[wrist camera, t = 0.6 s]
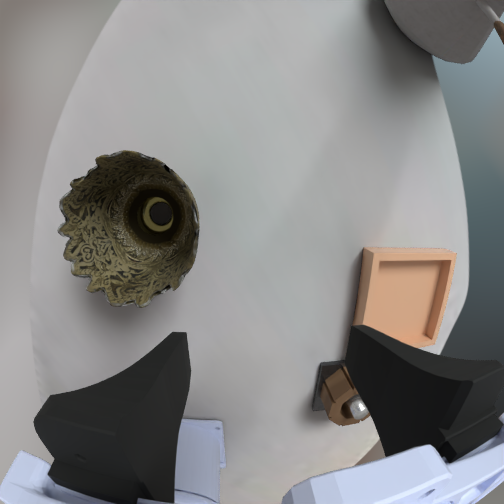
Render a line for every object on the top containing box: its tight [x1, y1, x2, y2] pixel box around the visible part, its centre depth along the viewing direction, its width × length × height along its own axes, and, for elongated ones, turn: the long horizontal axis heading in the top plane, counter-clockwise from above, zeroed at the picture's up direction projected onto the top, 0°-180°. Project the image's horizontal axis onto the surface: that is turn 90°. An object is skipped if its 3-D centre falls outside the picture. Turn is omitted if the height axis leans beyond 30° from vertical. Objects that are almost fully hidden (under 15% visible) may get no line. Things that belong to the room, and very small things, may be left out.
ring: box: [320, 367, 370, 426], centre depth 22 cm, size 5×5×3 cm
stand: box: [312, 360, 369, 419], centre depth 22 cm, size 6×6×5 cm
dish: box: [352, 247, 457, 348], centre depth 22 cm, size 9×9×2 cm
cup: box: [57, 150, 199, 308], centre depth 16 cm, size 8×7×8 cm
